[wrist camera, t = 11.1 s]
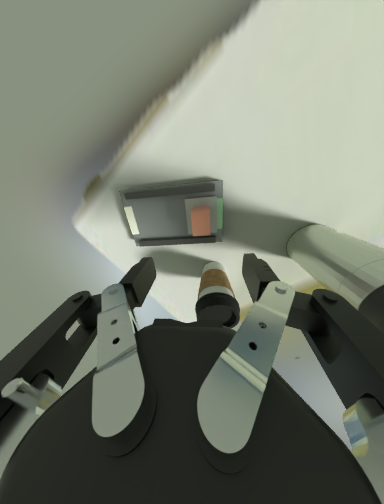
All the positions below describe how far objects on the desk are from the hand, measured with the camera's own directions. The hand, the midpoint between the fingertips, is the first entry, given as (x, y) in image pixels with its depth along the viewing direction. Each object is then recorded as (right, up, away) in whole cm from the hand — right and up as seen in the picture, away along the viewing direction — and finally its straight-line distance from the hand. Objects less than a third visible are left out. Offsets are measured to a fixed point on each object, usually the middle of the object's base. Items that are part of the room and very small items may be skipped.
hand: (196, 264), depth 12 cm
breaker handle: (+2, +8, +15) cm, 18 cm away
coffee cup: (+6, -4, +26) cm, 26 cm away
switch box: (-4, +10, +19) cm, 22 cm away
